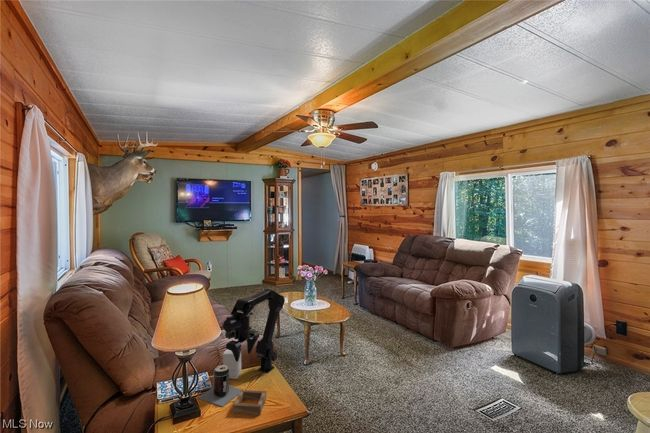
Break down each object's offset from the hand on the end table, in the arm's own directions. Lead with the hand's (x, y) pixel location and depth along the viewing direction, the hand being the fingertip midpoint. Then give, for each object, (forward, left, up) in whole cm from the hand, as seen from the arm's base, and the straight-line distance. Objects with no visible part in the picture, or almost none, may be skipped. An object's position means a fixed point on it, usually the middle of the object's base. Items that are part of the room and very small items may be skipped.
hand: (243, 357), depth 165 cm
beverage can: (+12, -3, -13) cm, 18 cm away
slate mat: (+12, -3, -13) cm, 18 cm away
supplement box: (-4, -10, -13) cm, 17 cm away
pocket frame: (+13, +14, -13) cm, 23 cm away
